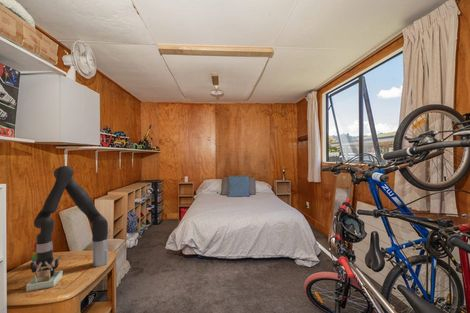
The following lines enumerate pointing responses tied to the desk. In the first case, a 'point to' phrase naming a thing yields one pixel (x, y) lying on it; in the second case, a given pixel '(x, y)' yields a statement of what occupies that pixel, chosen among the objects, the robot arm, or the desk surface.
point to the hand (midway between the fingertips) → (45, 277)
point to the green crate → (46, 284)
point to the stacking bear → (35, 255)
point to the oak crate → (44, 274)
